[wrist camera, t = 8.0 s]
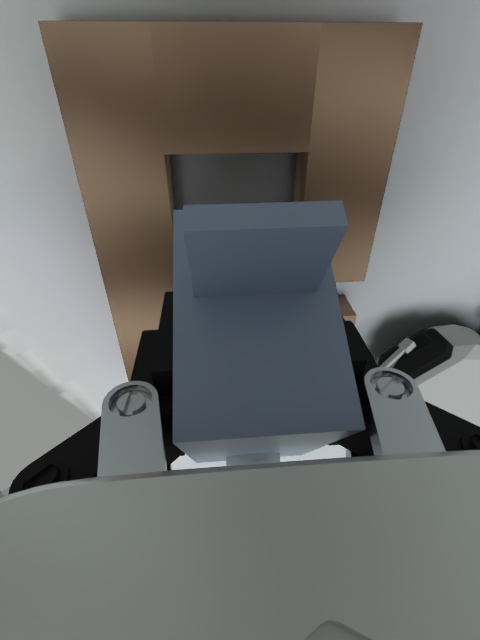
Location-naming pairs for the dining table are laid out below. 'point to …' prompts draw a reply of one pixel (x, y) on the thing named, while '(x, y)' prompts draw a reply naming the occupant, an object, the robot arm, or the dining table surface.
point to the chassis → (222, 130)
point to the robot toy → (442, 368)
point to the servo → (259, 332)
